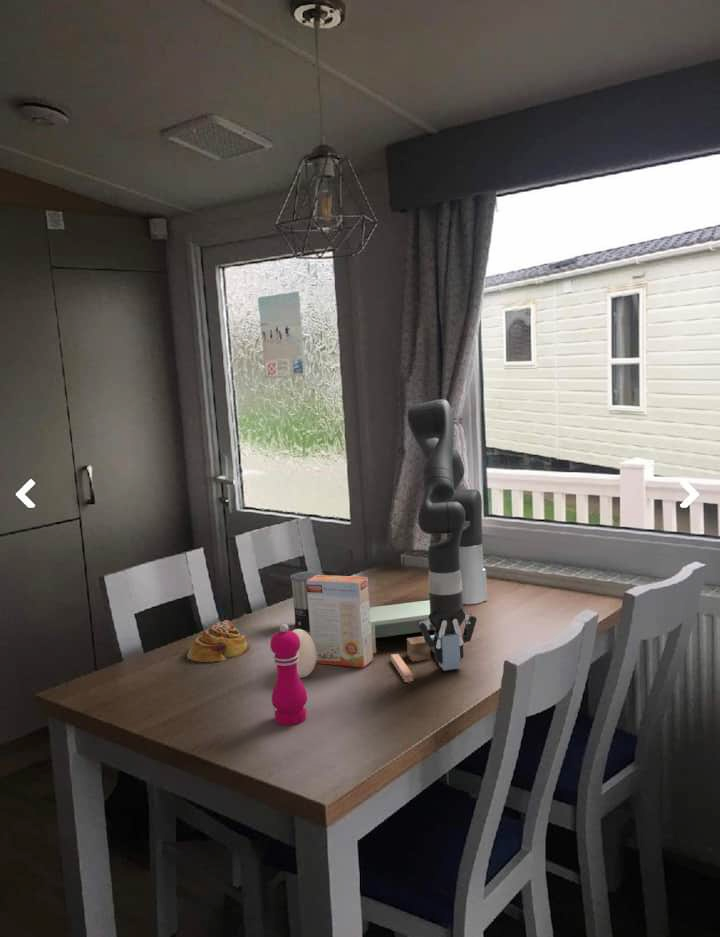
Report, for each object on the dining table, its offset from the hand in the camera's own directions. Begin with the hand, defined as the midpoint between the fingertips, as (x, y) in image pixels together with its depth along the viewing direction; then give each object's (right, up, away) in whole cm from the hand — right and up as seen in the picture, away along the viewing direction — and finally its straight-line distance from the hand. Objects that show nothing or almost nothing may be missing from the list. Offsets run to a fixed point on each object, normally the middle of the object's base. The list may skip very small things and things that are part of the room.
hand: (449, 661), depth 184 cm
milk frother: (-31, +1, +40) cm, 51 cm away
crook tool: (-3, -1, +6) cm, 6 cm away
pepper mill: (-35, -7, -21) cm, 41 cm away
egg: (-34, -4, +1) cm, 35 cm away
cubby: (-8, 0, +22) cm, 23 cm away
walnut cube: (-6, -1, +9) cm, 11 cm away
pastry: (-57, -4, +22) cm, 61 cm away
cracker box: (-25, -3, +9) cm, 27 cm away
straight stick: (-11, -3, +1) cm, 11 cm away
